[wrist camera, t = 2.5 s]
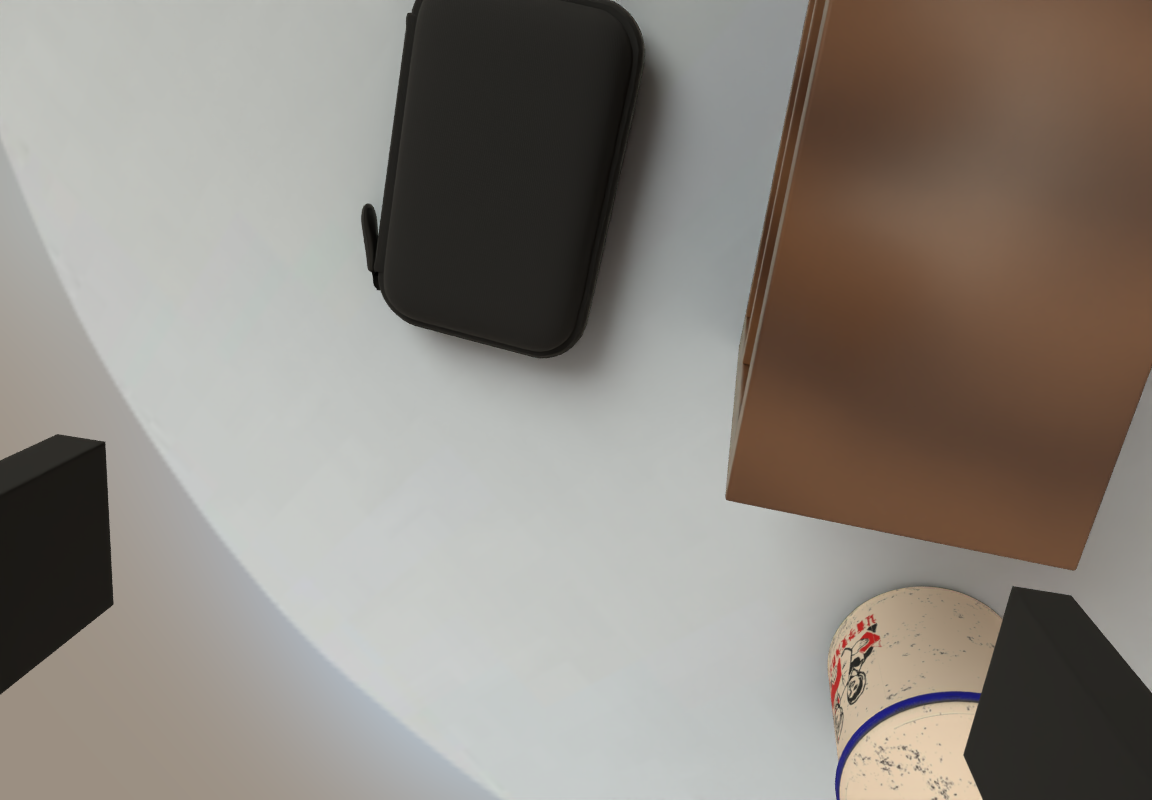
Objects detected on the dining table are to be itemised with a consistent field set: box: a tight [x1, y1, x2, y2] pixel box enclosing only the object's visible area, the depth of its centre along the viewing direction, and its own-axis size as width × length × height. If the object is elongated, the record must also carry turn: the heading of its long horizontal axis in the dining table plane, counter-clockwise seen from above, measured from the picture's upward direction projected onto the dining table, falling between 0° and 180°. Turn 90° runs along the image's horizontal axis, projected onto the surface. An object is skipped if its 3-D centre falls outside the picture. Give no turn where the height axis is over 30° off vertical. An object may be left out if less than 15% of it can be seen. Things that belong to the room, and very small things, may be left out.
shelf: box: [725, 0, 1152, 571], centre depth 27 cm, size 20×9×16 cm, turn 172°
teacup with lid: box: [828, 587, 1002, 800], centre depth 37 cm, size 12×9×12 cm
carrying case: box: [361, 0, 645, 358], centre depth 37 cm, size 11×3×15 cm
